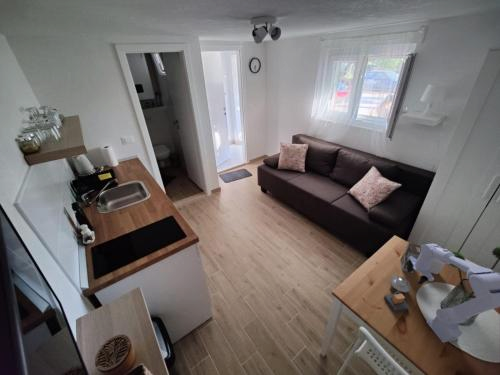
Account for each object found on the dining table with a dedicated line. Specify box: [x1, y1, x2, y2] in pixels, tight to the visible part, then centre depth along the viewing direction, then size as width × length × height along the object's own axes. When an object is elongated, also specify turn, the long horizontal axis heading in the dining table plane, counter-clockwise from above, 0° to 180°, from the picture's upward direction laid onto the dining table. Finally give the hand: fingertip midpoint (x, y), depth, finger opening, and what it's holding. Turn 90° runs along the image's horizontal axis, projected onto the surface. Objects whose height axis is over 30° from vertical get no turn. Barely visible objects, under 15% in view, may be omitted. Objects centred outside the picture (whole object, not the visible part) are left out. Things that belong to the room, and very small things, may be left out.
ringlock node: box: [383, 275, 412, 313], centre depth 119 cm, size 17×17×7 cm
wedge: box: [391, 293, 406, 305], centre depth 114 cm, size 2×4×7 cm, turn 99°
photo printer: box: [428, 258, 446, 275], centre depth 129 cm, size 10×4×12 cm, turn 61°
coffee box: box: [400, 242, 422, 274], centre depth 131 cm, size 9×6×16 cm
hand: (414, 277), depth 118 cm, fingers open, 7 cm apart
